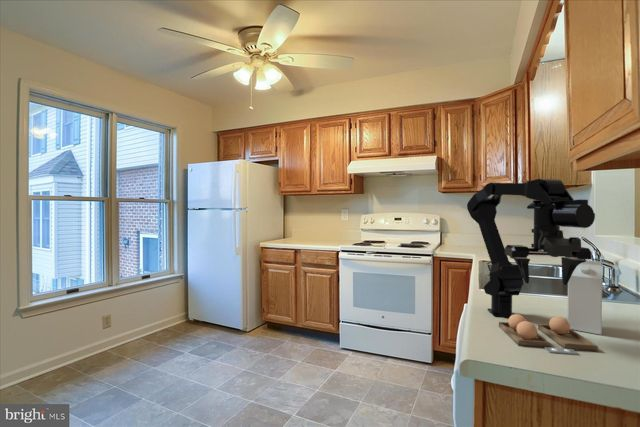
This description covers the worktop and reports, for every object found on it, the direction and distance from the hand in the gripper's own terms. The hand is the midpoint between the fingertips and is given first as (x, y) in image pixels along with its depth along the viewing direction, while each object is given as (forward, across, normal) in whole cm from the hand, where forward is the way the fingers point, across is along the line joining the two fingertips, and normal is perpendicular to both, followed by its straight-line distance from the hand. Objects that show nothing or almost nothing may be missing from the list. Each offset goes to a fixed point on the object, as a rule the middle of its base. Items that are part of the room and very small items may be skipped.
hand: (545, 283), depth 86 cm
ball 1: (+10, -8, -2) cm, 13 cm away
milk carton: (+13, +12, +5) cm, 19 cm away
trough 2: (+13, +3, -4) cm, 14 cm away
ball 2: (+10, -8, -7) cm, 15 cm away
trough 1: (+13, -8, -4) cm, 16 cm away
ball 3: (+10, +2, -2) cm, 11 cm away
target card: (+13, -2, -13) cm, 18 cm away
